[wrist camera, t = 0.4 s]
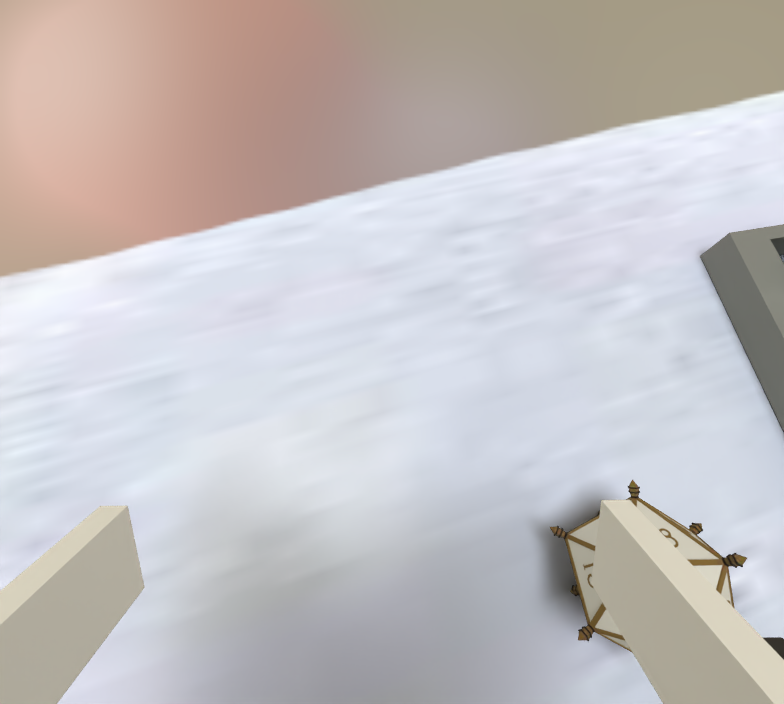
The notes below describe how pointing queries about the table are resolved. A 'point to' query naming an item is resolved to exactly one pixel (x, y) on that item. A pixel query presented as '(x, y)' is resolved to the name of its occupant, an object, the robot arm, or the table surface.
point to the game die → (681, 537)
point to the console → (755, 300)
